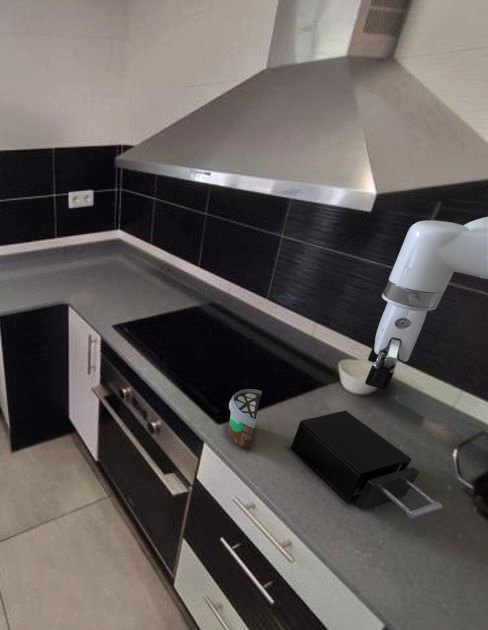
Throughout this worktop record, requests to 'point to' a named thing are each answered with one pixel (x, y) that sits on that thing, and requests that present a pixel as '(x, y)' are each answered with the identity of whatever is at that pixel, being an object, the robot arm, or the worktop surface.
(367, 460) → the mini drawer cabinet
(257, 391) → the food container
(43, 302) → the worktop surface
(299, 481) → the worktop surface
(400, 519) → the worktop surface
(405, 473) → the drawer
